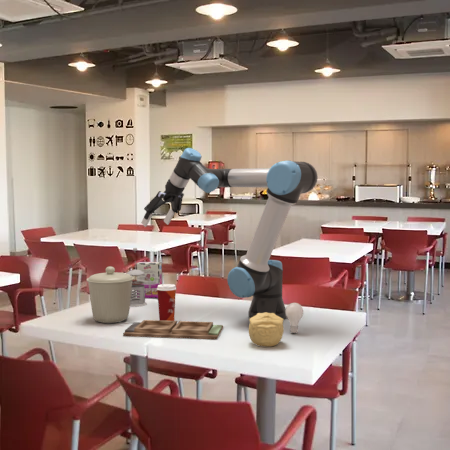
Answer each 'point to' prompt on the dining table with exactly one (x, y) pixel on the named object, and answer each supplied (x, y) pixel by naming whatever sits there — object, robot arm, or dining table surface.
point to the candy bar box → (150, 277)
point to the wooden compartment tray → (174, 329)
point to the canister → (110, 295)
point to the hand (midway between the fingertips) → (154, 223)
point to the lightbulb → (294, 316)
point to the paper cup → (166, 301)
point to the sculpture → (266, 329)
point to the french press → (137, 288)
